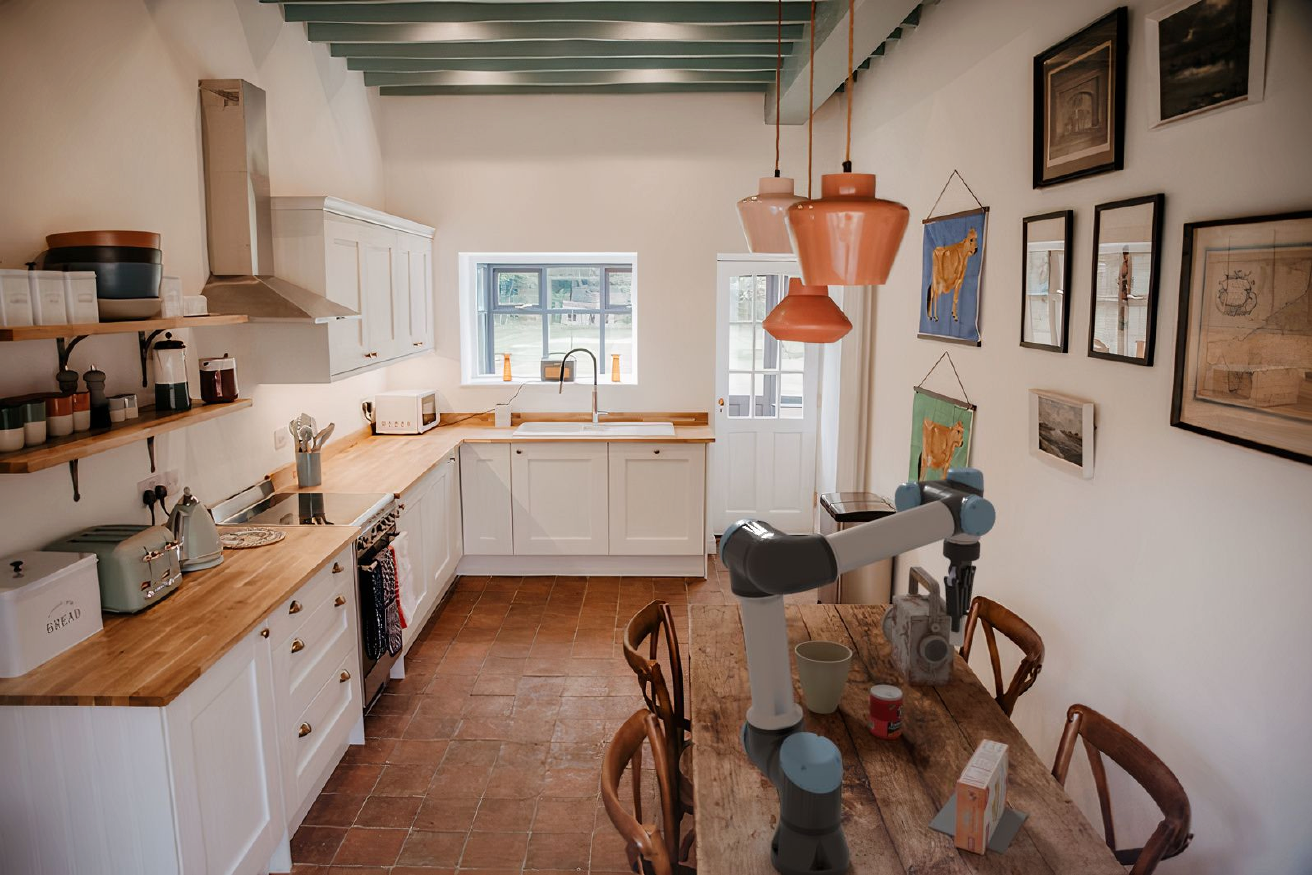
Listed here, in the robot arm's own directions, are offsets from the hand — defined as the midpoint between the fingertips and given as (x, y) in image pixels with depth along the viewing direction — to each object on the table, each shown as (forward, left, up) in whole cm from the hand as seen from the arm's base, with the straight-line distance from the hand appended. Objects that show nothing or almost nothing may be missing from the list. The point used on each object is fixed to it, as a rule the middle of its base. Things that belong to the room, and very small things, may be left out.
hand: (956, 644), depth 192 cm
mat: (-11, -10, -33) cm, 36 cm away
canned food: (+14, +21, -33) cm, 42 cm away
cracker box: (-2, -10, -25) cm, 27 cm away
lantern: (+55, +29, -33) cm, 71 cm away
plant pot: (+17, +40, -33) cm, 55 cm away
